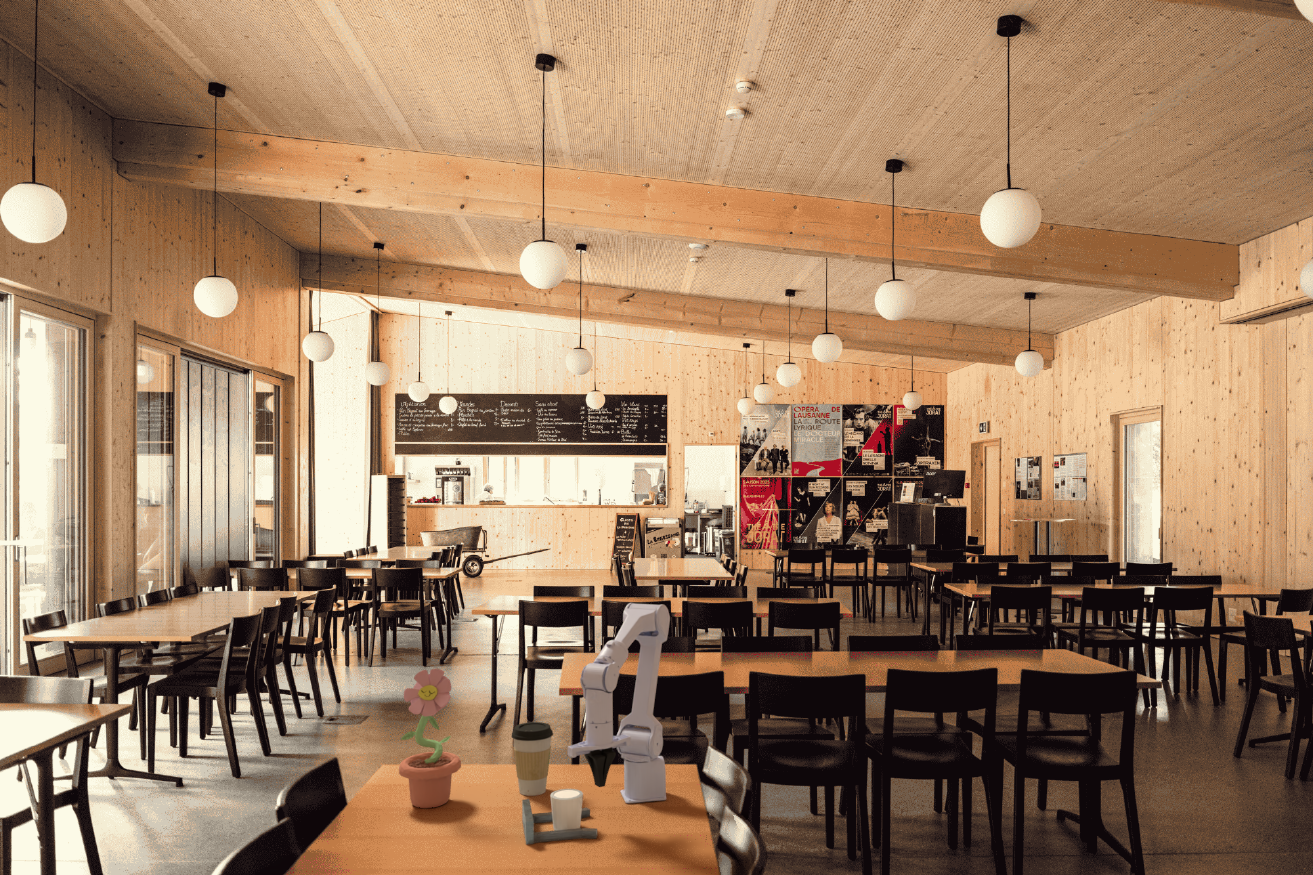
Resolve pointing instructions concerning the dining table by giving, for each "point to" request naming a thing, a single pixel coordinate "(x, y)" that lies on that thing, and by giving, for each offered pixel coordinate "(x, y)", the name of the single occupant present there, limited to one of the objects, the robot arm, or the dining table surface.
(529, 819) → the grey hook bracket
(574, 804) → the shot glass
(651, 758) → the robot arm
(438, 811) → the dining table surface
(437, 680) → the decorative flower
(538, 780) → the coffee cup
